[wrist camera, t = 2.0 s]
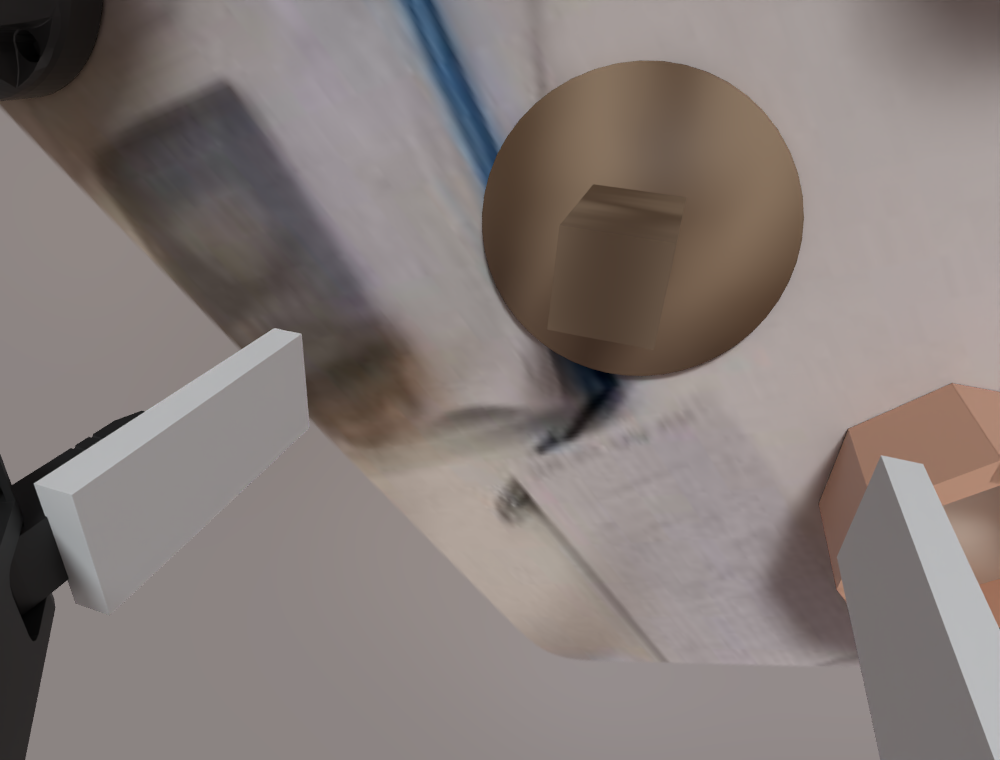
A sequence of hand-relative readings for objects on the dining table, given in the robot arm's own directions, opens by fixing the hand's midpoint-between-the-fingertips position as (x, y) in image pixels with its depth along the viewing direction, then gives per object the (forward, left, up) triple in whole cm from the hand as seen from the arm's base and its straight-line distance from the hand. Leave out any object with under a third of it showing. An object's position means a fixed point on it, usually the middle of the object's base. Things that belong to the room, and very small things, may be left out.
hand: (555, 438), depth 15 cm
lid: (0, 0, -18) cm, 18 cm away
